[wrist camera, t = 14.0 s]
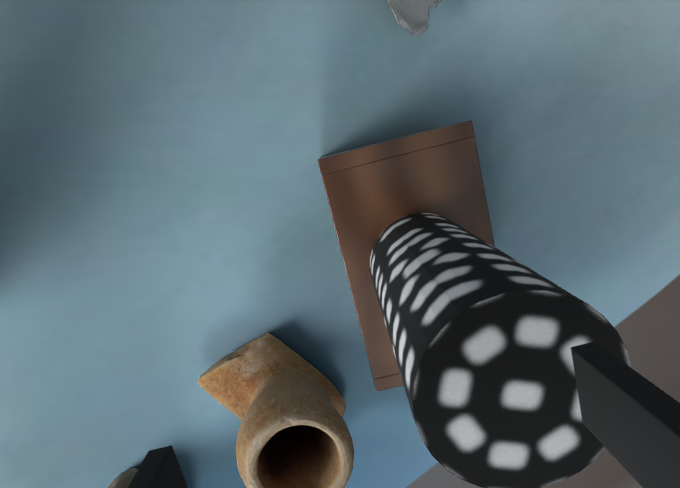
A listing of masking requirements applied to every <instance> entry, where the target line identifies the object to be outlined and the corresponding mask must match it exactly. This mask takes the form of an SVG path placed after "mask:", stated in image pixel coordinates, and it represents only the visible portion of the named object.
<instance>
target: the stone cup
mask: <svg viewBox="0 0 680 488" xmlns="http://www.w3.org/2000/svg"><path fill="white" fill-rule="evenodd" d="M198 384H199V385H200V386H201V387H202V388H203V389H204V390H206V391H207V392H208V393H209V394H210V395H211V396H212V397H214V398H215V399H216V400H217V401H218V402H220V403H221V404H222V405H223V406H224V407H226V408H227V409H228V410H229V411H231V412H232V413H234V414H235V415H237V416H238V417H239V419H241V420H242V421H241V424H240V427H239V431H238V435H237V441H236V459H237V467H238V470H239V474H240V476H241V478H242V480H243V482H244V484H245V486H246V487H247V488H344V487H345V485H346V484H347V482H348V480H349V478H350V475H351V472H352V469H353V460H354V448H353V442H352V438H351V435H350V433H349V430H348V428H347V425H346V423H345V421H344V420H343V418H342V417H343V414H344V411H345V402H344V400H343V398H342V396H341V394H340V393H339V391H338V390H337V389H336V387H335V386H334V385H333V384H332V383H331V382H330V381H329V379H328V378H327V377H325V376H324V375H323V374H322V373H321V372H320V371H318V370H317V369H316V368H315V367H313V366H312V365H311V364H309V363H308V362H307V361H306V360H304V359H303V358H302V357H301V356H299V355H298V354H297V353H295V352H294V351H293V350H291V349H290V348H289V347H288V346H286V345H285V344H284V343H282V342H281V341H280V340H279V339H277V338H276V337H274V336H273V335H271V334H270V333H265V334H264V335H263V336H262V337H260V338H257V339H254V340H252V341H251V342H250V343H248V344H246V345H245V346H243V347H240V348H239V349H238V350H237V351H236V352H234V353H233V354H229V355H227V356H225V357H224V358H222V359H221V360H220V361H218V362H217V363H216V364H215V365H213V366H212V367H210V368H209V369H208V370H207V371H206V372H205V373H204V374H202V375H201V376H200V378H199V379H198Z"/></svg>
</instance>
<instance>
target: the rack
mask: <svg viewBox="0 0 680 488" xmlns="http://www.w3.org/2000/svg"><path fill="white" fill-rule="evenodd" d="M318 164H319V168H320V172H321V175H322V180H323V183H324V187H325V191H326V195H327V199H328V203H329V207H330V211H331V215H332V219H333V223H334V226H335V230H336V234H337V238H338V242H339V246H340V250H341V254H342V258H343V262H344V266H345V270H346V273H347V277H348V281H349V285H350V289H351V293H352V297H353V301H354V305H355V309H356V313H357V317H358V320H359V324H360V328H361V332H362V336H363V340H364V344H365V348H366V352H367V356H368V360H369V364H370V367H371V371H372V375H373V379H374V383H375V387H376V391H381V390H386V389H390V388H394V387H398V386H403V385H404V384H403V381H402V377H401V374H400V371H399V367H398V364H397V361H396V358H395V354H394V351H393V348H392V344H391V341H390V338H389V335H388V331H387V328H386V325H385V321H384V318H383V315H382V312H381V308H380V305H379V302H378V298H377V295H376V292H375V288H374V285H373V282H372V279H371V273H370V257H371V253H372V249H373V247H374V244H375V242H376V240H377V239H378V237H379V236H380V235H381V233H382V232H383V231H384V230H385V229H386V228H387V227H388V226H389V225H390V224H391V223H393V222H395V221H396V220H398V219H400V218H402V217H405V216H408V215H411V214H417V213H431V214H436V215H440V216H442V217H445V218H447V219H449V220H451V221H452V222H454V223H456V224H457V225H459V226H461V227H462V228H464V229H465V230H467V231H469V232H470V233H472V234H474V235H475V236H477V237H479V238H480V239H482V240H483V241H485V242H487V243H488V244H490V245H492V246H493V247H495V246H494V240H493V235H492V229H491V224H490V219H489V213H488V208H487V202H486V197H485V191H484V186H483V181H482V175H481V170H480V164H479V159H478V153H477V148H476V143H475V137H474V131H473V126H472V121H466V122H461V123H456V124H451V125H446V126H441V127H436V128H432V129H429V130H425V131H421V132H417V133H413V134H409V135H405V136H401V137H397V138H393V139H389V140H385V141H381V142H377V143H373V144H370V145H366V146H362V147H358V148H354V149H350V150H346V151H342V152H338V153H334V154H330V155H326V156H322V157H321V158H319V159H318Z"/></svg>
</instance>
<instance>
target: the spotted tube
mask: <svg viewBox="0 0 680 488" xmlns="http://www.w3.org/2000/svg"><path fill="white" fill-rule="evenodd" d="M370 273H371V279H372V282H373V285H374V288H375V292H376V295H377V298H378V302H379V305H380V308H381V312H382V315H383V318H384V321H385V325H386V328H387V331H388V335H389V338H390V341H391V344H392V348H393V351H394V354H395V358H396V361H397V364H398V367H399V371H400V374H401V377H402V381H403V384H404V387H405V391H406V394H407V397H408V400H409V404H410V407H411V410H412V414H413V417H414V420H415V423H416V426H417V428H418V431H419V434H420V436H421V439H422V441H423V442H424V444H425V445H426V447H427V448H428V450H429V451H430V453H431V454H432V456H433V457H434V458H435V459H436V460H437V461H438V462H439V463H440V464H441V465H442V466H443V467H444V468H446V470H448V471H450V472H451V473H453V474H454V475H456V476H457V477H459V478H461V479H462V480H464V481H467V482H469V483H472V484H475V485H477V486H480V487H484V488H543V487H546V486H548V485H552V484H554V483H558V482H560V481H563V480H564V479H566V478H568V477H570V476H572V475H574V474H576V473H578V472H580V471H581V470H582V469H584V468H585V467H586V466H588V465H589V464H590V463H591V462H593V461H594V460H595V459H597V457H598V456H599V455H600V454H601V453H602V452H603V451H604V450H605V449H606V448H605V446H604V445H603V444H602V443H601V442H600V441H599V440H598V439H597V438H596V437H595V436H594V435H593V434H592V433H591V431H590V430H589V429H588V428H587V427H586V426H585V425H584V424H583V423H582V416H581V410H580V404H579V397H578V391H577V385H576V378H575V372H574V366H573V359H572V353H571V347H574V346H578V345H582V344H586V343H590V342H596V343H597V344H599V345H600V346H601V347H603V348H604V349H606V350H607V351H608V352H610V353H611V354H612V355H614V356H615V357H617V358H618V359H619V360H621V361H622V362H624V363H625V364H626V365H628V366H629V367H630V368H631V364H630V360H629V357H628V353H627V349H626V347H625V345H624V343H623V342H622V340H621V338H620V336H619V334H618V332H617V331H616V330H615V328H614V327H613V326H612V325H611V324H610V323H609V321H608V320H607V319H606V318H605V317H604V316H603V315H602V314H600V313H599V312H598V311H596V310H595V309H594V308H592V307H591V306H590V305H588V304H587V303H585V302H583V301H582V300H580V299H579V298H577V297H575V296H574V295H572V294H570V293H569V292H567V291H565V290H564V289H562V288H561V287H559V286H557V285H556V284H554V283H552V282H551V281H549V280H547V279H546V278H544V277H542V276H541V275H539V274H538V273H536V272H534V271H533V270H531V269H529V268H528V267H526V266H524V265H523V264H521V263H520V262H518V261H516V260H515V259H513V258H511V257H510V256H508V255H506V254H505V253H503V252H502V251H500V250H498V249H497V248H495V247H493V246H492V245H490V244H488V243H487V242H485V241H483V240H482V239H480V238H479V237H477V236H475V235H474V234H472V233H470V232H469V231H467V230H465V229H464V228H462V227H461V226H459V225H457V224H456V223H454V222H452V221H451V220H449V219H447V218H445V217H442V216H440V215H436V214H431V213H417V214H411V215H408V216H405V217H402V218H400V219H398V220H396V221H395V222H393V223H391V224H390V225H389V226H388V227H387V228H386V229H385V230H384V231H383V232H382V233H381V235H380V236H379V237H378V239H377V240H376V242H375V244H374V247H373V249H372V253H371V257H370Z"/></svg>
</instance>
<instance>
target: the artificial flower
mask: <svg viewBox="0 0 680 488" xmlns="http://www.w3.org/2000/svg"><path fill="white" fill-rule="evenodd" d="M440 1H441V0H440ZM388 3H389V5H390V7H391V9H392V11H393V13H394V15H395V17H396V21H397V23H398V24H399V25H400V26H402V27H404V28H405V29H407V30H408V31H409V32H411V33H412V34H419V35H420V34H421V33H423V32H424V31H425V30H426V29H427V27H428V7H437V5H438V3H440V2H439V0H388Z"/></svg>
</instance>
